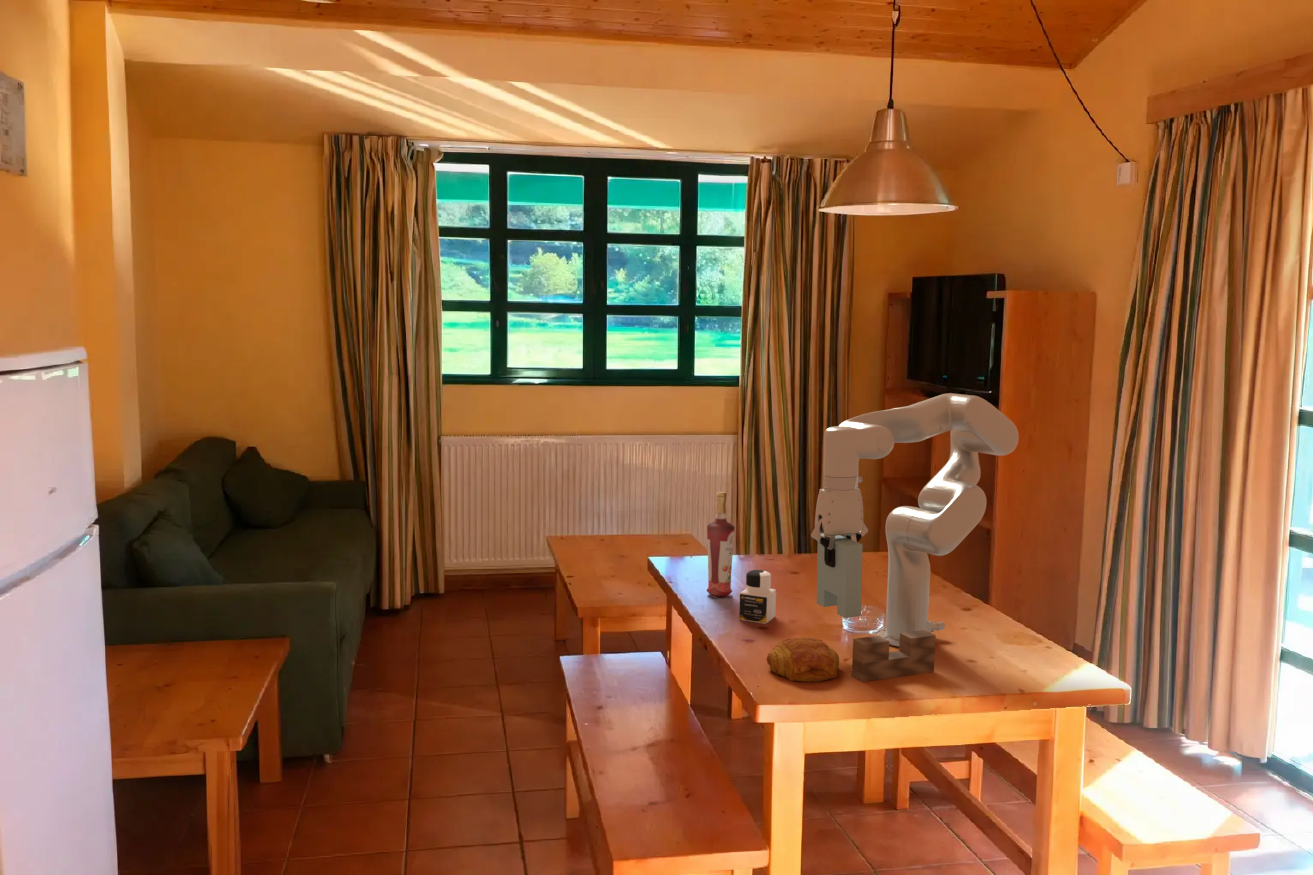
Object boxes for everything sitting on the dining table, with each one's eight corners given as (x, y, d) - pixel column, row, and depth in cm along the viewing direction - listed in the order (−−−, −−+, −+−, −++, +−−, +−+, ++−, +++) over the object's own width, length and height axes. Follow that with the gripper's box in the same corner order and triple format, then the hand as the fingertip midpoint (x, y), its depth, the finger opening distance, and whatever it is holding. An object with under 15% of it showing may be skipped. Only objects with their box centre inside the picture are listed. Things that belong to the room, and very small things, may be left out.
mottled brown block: (922, 665, 230) (924, 629, 229) (933, 671, 226) (935, 635, 225) (851, 675, 223) (853, 638, 222) (862, 681, 219) (863, 644, 218)
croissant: (764, 670, 232) (760, 635, 231) (834, 660, 232) (830, 625, 232) (776, 693, 217) (771, 655, 217) (850, 682, 218) (846, 644, 217)
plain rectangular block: (816, 603, 239) (817, 534, 237) (831, 601, 240) (833, 532, 238) (845, 618, 228) (846, 545, 226) (861, 615, 229) (862, 544, 227)
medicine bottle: (738, 620, 261) (739, 572, 259) (748, 612, 267) (750, 566, 266) (766, 624, 258) (767, 576, 256) (775, 616, 264) (777, 570, 263)
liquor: (725, 600, 278) (727, 496, 274) (700, 596, 281) (702, 493, 278) (737, 594, 284) (740, 491, 281) (713, 590, 288) (715, 489, 284)
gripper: (863, 477, 237) (862, 557, 239) (798, 483, 231) (797, 564, 233) (883, 483, 230) (881, 565, 232) (816, 489, 224) (814, 572, 226)
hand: (839, 563), depth 233 cm, fingers closed on plain rectangular block, 4 cm apart
